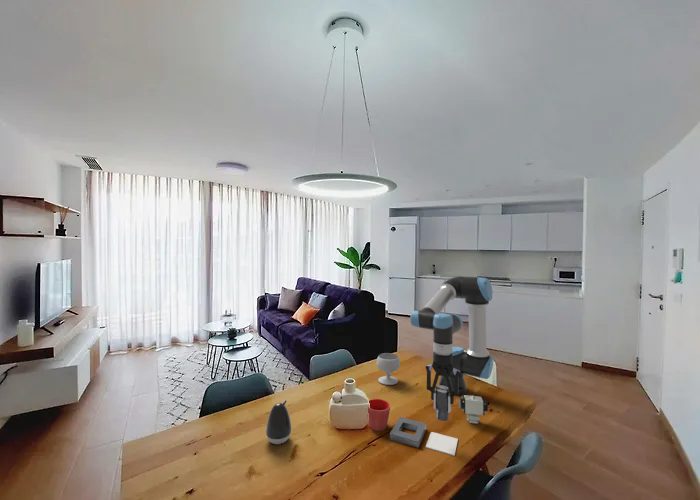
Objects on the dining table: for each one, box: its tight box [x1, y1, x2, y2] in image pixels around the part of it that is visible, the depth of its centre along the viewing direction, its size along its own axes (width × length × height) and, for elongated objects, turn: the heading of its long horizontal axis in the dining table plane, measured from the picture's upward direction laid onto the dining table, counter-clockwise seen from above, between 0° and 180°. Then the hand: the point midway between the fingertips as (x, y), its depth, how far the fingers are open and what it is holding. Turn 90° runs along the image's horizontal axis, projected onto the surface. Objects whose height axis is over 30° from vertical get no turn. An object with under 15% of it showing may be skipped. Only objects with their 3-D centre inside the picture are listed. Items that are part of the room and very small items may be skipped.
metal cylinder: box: [435, 384, 450, 422], centre depth 124 cm, size 5×5×12 cm
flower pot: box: [368, 398, 391, 432], centre depth 137 cm, size 11×11×10 cm
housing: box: [389, 416, 427, 448], centre depth 131 cm, size 14×12×2 cm
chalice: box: [376, 352, 401, 386], centre depth 183 cm, size 14×14×15 cm
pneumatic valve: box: [458, 394, 489, 425], centre depth 141 cm, size 6×12×12 cm, turn 78°
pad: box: [425, 431, 459, 457], centre depth 125 cm, size 11×11×1 cm
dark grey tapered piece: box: [265, 399, 292, 445], centre depth 126 cm, size 10×10×15 cm
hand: (442, 409), depth 124 cm, fingers closed on metal cylinder, 5 cm apart
